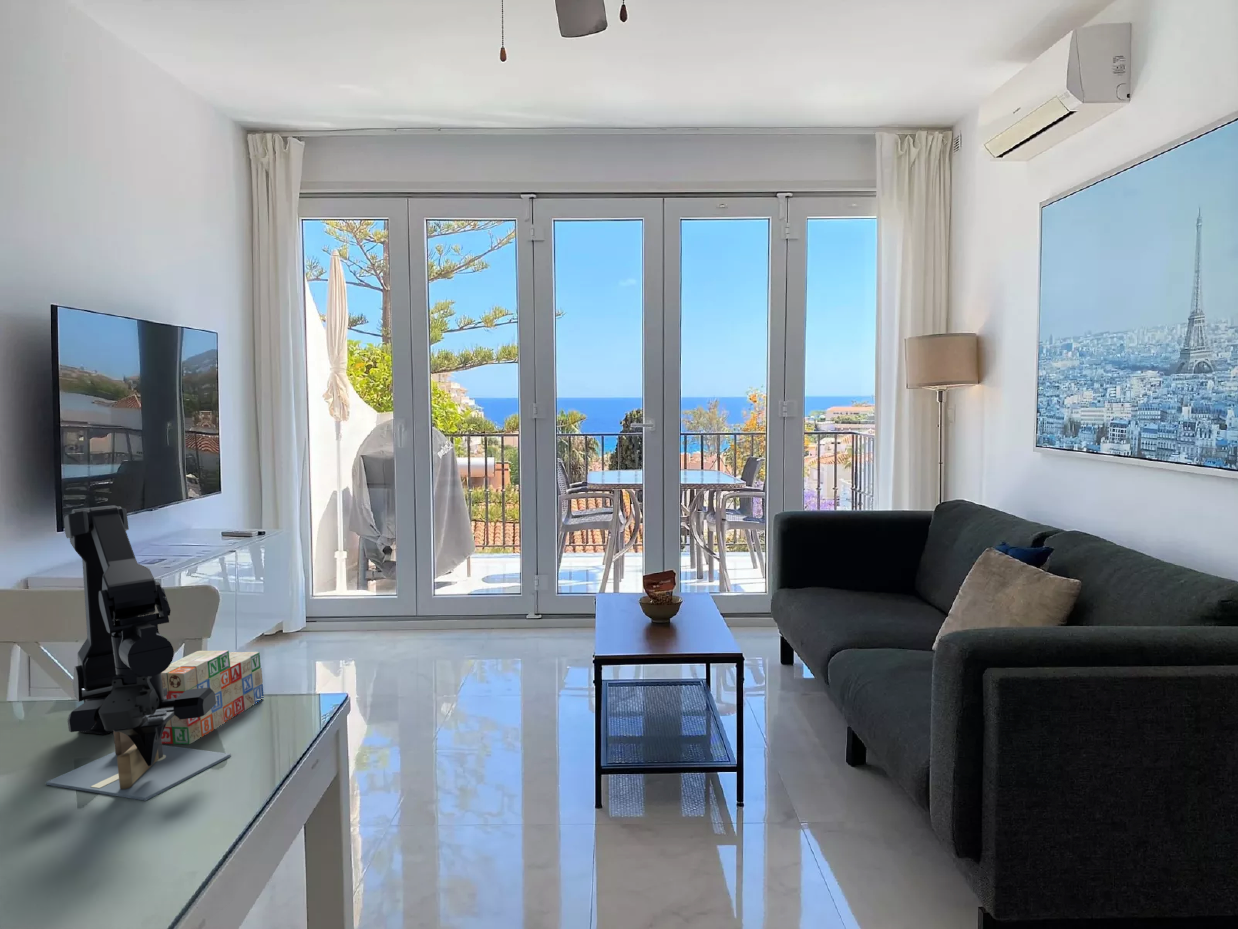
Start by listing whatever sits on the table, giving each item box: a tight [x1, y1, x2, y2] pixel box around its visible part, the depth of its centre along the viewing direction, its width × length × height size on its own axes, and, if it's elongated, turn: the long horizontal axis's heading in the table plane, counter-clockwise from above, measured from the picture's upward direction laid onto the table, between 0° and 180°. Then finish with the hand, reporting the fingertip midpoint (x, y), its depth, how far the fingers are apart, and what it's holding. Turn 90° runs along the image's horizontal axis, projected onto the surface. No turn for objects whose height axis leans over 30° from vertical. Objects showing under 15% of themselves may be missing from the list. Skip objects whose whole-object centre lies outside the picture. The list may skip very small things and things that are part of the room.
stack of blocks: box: [161, 650, 265, 745], centre depth 152 cm, size 21×6×12 cm, turn 170°
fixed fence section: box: [112, 731, 134, 755], centre depth 136 cm, size 7×2×5 cm, turn 69°
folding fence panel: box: [117, 739, 163, 789], centre depth 130 cm, size 12×2×5 cm, turn 6°
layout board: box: [45, 744, 232, 802], centre depth 132 cm, size 20×16×1 cm
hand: (150, 764), depth 128 cm, fingers closed
